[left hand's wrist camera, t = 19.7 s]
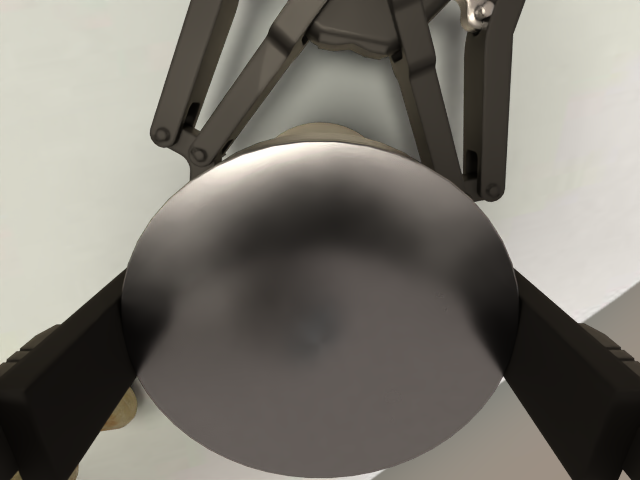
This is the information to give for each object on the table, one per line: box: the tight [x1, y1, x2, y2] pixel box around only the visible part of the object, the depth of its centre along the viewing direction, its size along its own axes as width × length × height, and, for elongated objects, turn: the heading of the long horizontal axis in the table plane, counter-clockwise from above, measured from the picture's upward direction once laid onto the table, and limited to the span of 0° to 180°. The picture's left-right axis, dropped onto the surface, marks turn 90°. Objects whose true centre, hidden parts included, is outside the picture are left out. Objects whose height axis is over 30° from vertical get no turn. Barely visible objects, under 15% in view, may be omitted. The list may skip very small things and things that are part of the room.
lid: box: [121, 133, 520, 478], centre depth 11 cm, size 11×11×2 cm
